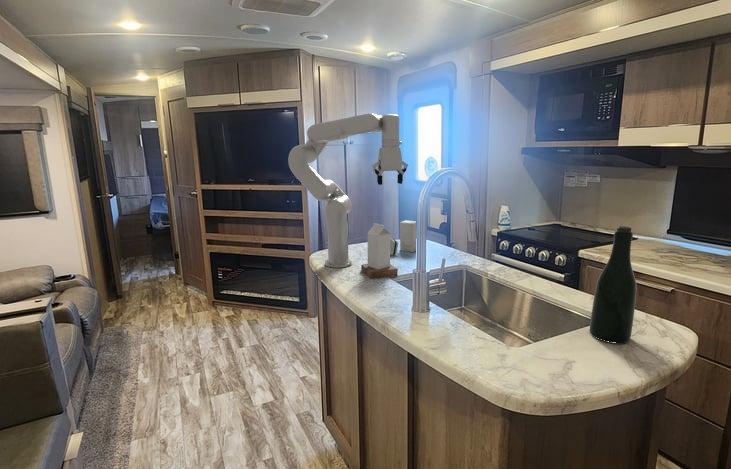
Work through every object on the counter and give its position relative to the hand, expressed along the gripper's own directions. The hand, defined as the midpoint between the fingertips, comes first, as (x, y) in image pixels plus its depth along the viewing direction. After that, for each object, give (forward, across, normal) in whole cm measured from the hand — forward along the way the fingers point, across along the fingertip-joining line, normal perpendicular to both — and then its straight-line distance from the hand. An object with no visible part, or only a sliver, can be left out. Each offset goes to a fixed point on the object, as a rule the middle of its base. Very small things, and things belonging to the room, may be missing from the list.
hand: (390, 184), depth 178 cm
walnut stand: (+38, +8, +6) cm, 40 cm away
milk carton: (+36, +8, +6) cm, 37 cm away
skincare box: (+38, -23, -23) cm, 50 cm away
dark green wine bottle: (+38, -29, +87) cm, 100 cm away
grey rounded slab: (+39, -9, -24) cm, 46 cm away
